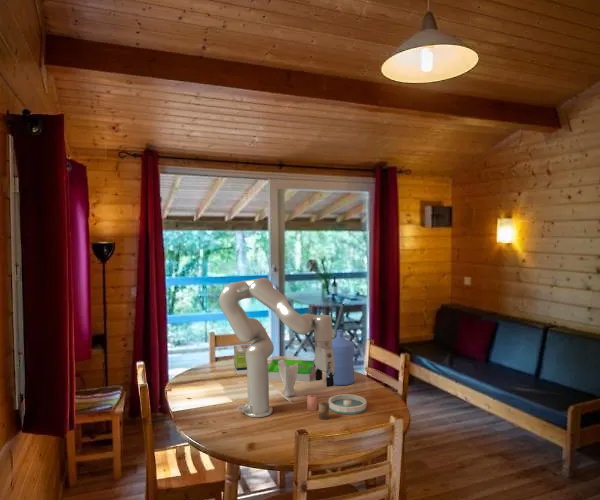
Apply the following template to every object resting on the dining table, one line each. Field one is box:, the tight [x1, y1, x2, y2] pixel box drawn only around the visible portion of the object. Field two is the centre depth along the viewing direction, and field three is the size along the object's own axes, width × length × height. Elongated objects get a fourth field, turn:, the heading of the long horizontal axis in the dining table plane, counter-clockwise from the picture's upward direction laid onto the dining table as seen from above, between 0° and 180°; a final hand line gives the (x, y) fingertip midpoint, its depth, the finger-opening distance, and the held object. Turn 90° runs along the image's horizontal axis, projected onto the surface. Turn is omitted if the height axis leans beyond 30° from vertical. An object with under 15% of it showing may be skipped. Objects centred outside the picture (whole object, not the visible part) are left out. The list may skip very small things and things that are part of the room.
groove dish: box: [327, 393, 368, 416], centre depth 208 cm, size 17×17×3 cm
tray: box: [268, 359, 315, 382], centre depth 260 cm, size 25×25×5 cm
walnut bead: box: [318, 401, 330, 421], centre depth 196 cm, size 4×4×6 cm
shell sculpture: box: [278, 359, 298, 398], centre depth 224 cm, size 8×8×18 cm
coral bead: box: [306, 394, 318, 412], centre depth 206 cm, size 4×4×6 cm
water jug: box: [325, 328, 355, 386], centre depth 245 cm, size 16×16×28 cm
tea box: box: [233, 343, 251, 374], centre depth 263 cm, size 15×10×15 cm, turn 14°
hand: (324, 383), depth 196 cm, fingers open, 9 cm apart
